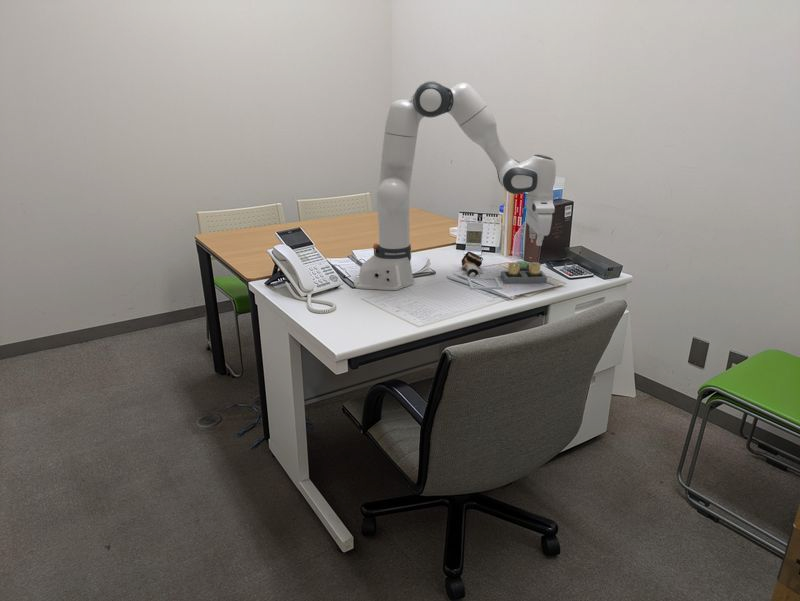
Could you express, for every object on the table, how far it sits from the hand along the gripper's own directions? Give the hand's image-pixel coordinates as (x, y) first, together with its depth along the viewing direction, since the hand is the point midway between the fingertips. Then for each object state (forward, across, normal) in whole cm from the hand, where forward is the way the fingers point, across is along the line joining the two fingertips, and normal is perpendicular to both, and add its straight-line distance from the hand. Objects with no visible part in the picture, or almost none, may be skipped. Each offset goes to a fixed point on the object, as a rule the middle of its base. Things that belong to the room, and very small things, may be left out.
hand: (535, 241), depth 195 cm
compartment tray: (+15, 0, -3) cm, 16 cm away
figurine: (+16, -9, -21) cm, 28 cm away
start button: (+14, -8, -2) cm, 16 cm away
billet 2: (+14, 0, +1) cm, 14 cm away
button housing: (+15, -8, -2) cm, 18 cm away
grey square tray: (+16, +4, -18) cm, 24 cm away
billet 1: (+14, 0, -7) cm, 16 cm away
